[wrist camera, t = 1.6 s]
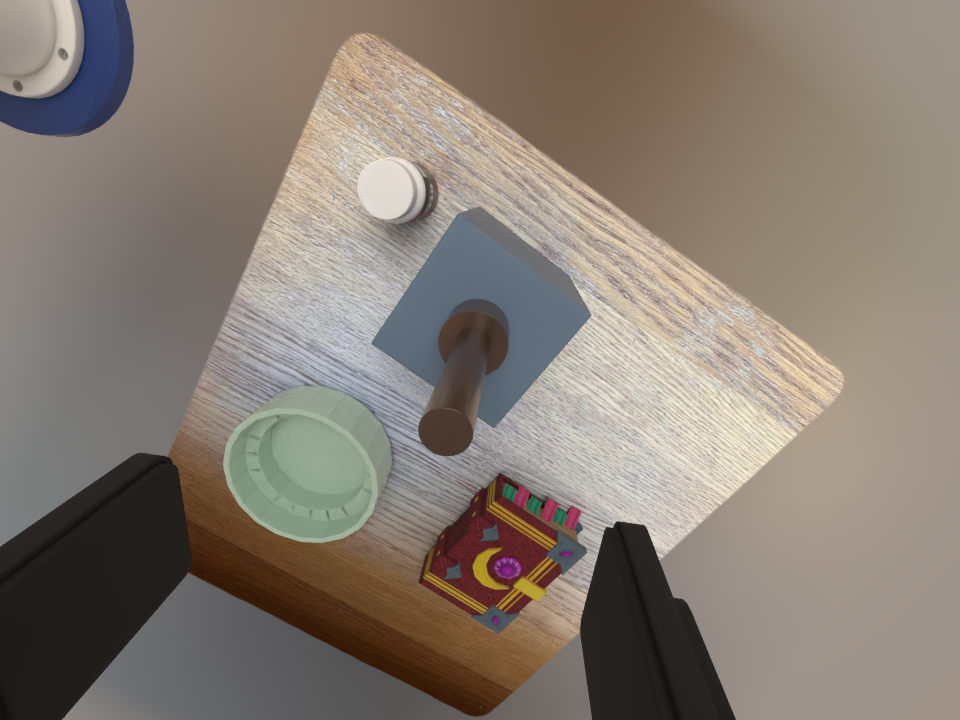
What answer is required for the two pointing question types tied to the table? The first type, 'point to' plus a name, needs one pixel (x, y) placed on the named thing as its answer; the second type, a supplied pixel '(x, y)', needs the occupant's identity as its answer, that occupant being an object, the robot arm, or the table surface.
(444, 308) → the stand
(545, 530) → the decorative book
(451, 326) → the brown wooden handle
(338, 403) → the bowl
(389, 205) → the pill bottle
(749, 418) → the table surface
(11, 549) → the robot arm
